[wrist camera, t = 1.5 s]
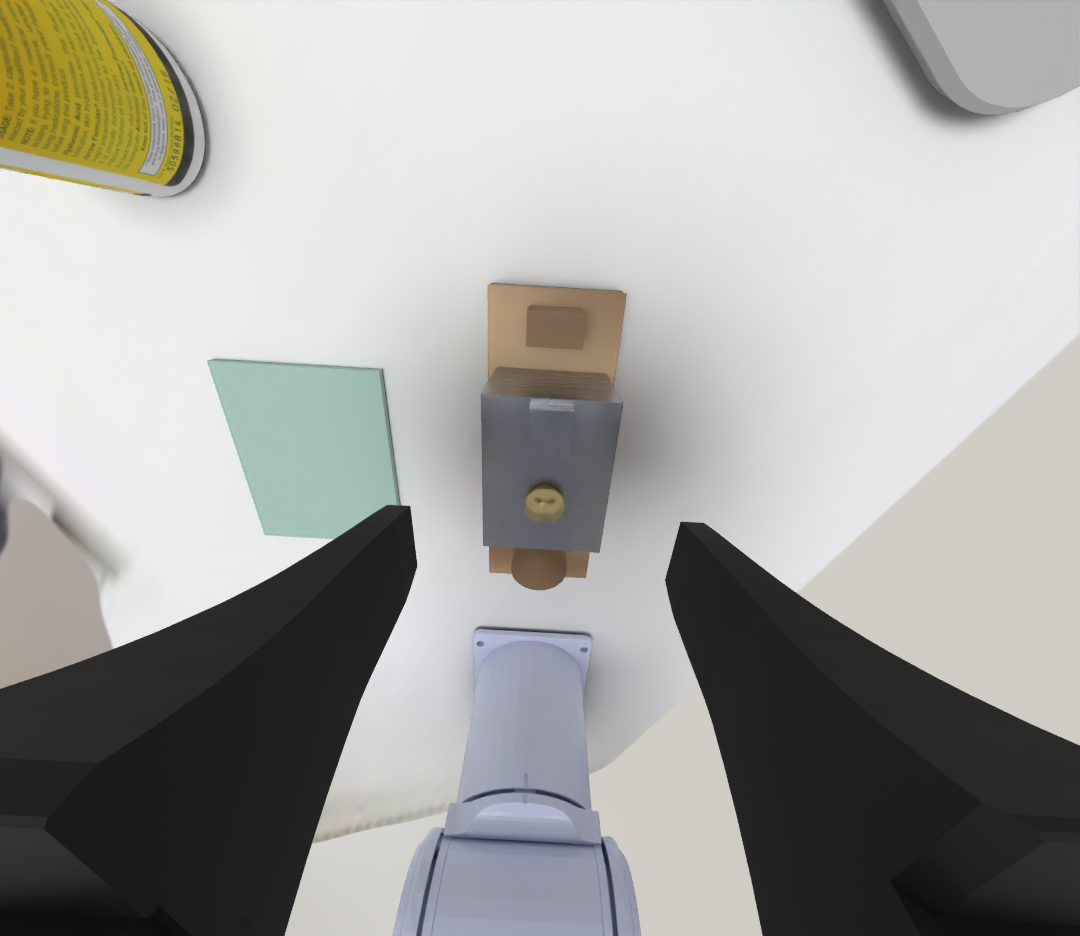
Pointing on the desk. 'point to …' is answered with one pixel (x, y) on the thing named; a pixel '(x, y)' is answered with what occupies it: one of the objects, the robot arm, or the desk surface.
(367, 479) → the mat
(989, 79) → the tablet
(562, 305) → the plane body
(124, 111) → the supplement bottle
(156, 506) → the desk surface
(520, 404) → the lever cap
